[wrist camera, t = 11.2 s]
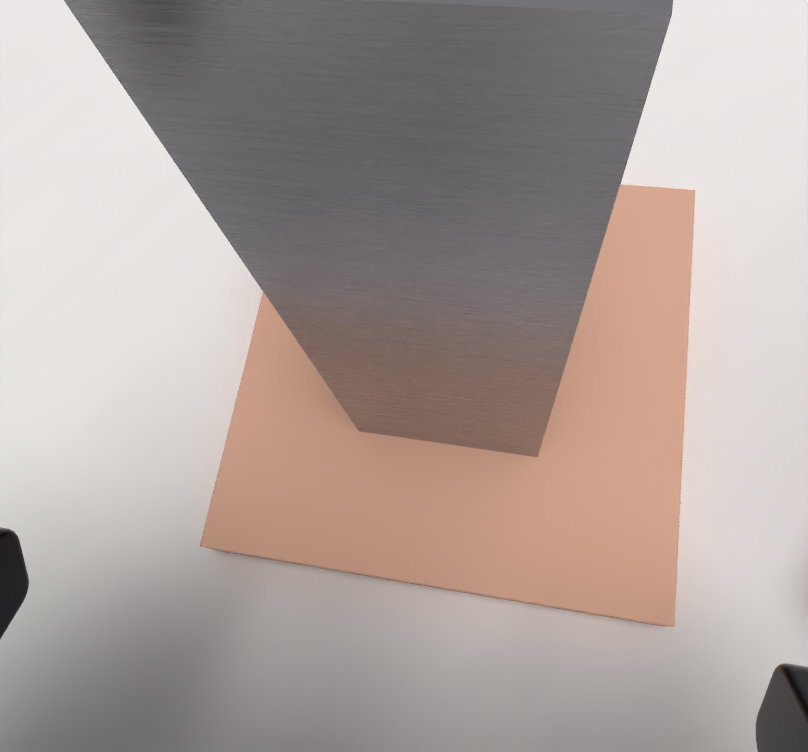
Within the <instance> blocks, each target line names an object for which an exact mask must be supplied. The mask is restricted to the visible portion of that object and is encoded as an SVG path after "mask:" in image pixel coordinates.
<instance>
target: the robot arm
mask: <svg viewBox="0 0 808 752" xmlns="http://www.w3.org/2000/svg"><path fill="white" fill-rule="evenodd" d="M28 586H29V579H28V574H27V570H26V566H25V562H24V558H23V554H22V550H21V545H20V541H19V538H18V536H17V535H16V534H15V532H14V531H12V530H10V529H6V528H0V639H1V637H2V636H3V634H4V632H5V631H6V629H7V627H8V626H9V624H10V622H11V621H12V619H13V617H14V616H15V614H16V613H17V611H18V609H19V608H20V606H21V604H22V603H23V601H24V599H25V597H26V594H27V591H28ZM756 741H757V749H758V752H808V667H804V666H798V665H793V664H780V665H779V666H778V667H777V668H776V669H775V671H774V672H773V675H772V678H771V680H770V683H769V686H768V688H767V691H766V694H765V696H764V699H763V702H762V704H761V707H760V710H759V712H758V716H757V721H756Z"/></svg>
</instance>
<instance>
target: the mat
mask: <svg viewBox="0 0 808 752" xmlns="http://www.w3.org/2000/svg"><path fill="white" fill-rule="evenodd" d="M694 203H695V190H683V189H670V188H657V187H644V186H631V185H620V187H619V190H618V194H617V197H616V200H615V203H614V207H613V210H612V213H611V217H610V220H609V223H608V227H607V230H606V233H605V237H604V240H603V243H602V246H601V250H600V253H599V256H598V260H597V263H596V266H595V270H594V273H593V276H592V279H591V283H590V286H589V289H588V293H587V296H586V299H585V303H584V306H583V309H582V312H581V316H580V319H579V322H578V326H577V329H576V332H575V336H574V339H573V342H572V346H571V349H570V352H569V355H568V359H567V362H566V365H565V369H564V372H563V375H562V379H561V382H560V385H559V388H558V392H557V395H556V398H555V402H554V405H553V408H552V412H551V415H550V418H549V421H548V425H547V428H546V431H545V435H544V438H543V441H542V445H541V448H540V451H539V454H538V457H533V456H526V455H519V454H512V453H505V452H499V451H492V450H485V449H478V448H471V447H464V446H457V445H450V444H443V443H437V442H430V441H423V440H416V439H409V438H402V437H395V436H388V435H381V434H375V433H368V432H361V431H358V429H357V428H356V426H355V425H354V424H353V422H352V421H351V419H350V418H349V416H348V415H347V413H346V412H345V410H344V409H343V407H342V406H341V405H340V403H339V402H338V400H337V399H336V397H335V396H334V394H333V393H332V391H331V390H330V388H329V387H328V386H327V384H326V383H325V381H324V380H323V378H322V377H321V375H320V374H319V372H318V371H317V369H316V368H315V367H314V365H313V364H312V362H311V361H310V359H309V358H308V356H307V355H306V353H305V352H304V350H303V349H302V348H301V346H300V345H299V343H298V342H297V340H296V339H295V337H294V336H293V334H292V333H291V331H290V330H289V328H288V327H287V326H286V324H285V323H284V321H283V320H282V318H281V317H280V315H279V314H278V312H277V311H276V309H275V308H274V307H273V305H272V304H271V302H270V301H269V299H268V298H267V296H266V295H265V293H264V292H263V295H262V299H261V303H260V307H259V311H258V315H257V319H256V323H255V327H254V331H253V335H252V339H251V343H250V347H249V351H248V355H247V359H246V363H245V367H244V371H243V375H242V379H241V383H240V387H239V391H238V395H237V399H236V403H235V407H234V411H233V415H232V419H231V423H230V427H229V431H228V435H227V439H226V443H225V447H224V451H223V455H222V460H221V464H220V468H219V472H218V476H217V480H216V484H215V488H214V492H213V496H212V500H211V504H210V508H209V512H208V516H207V520H206V524H205V528H204V532H203V536H202V540H201V544H200V546H203V547H206V548H210V549H214V550H219V551H225V552H231V553H237V554H242V555H248V556H254V557H260V558H266V559H272V560H278V561H283V562H289V563H295V564H301V565H307V566H313V567H319V568H325V569H330V570H336V571H342V572H348V573H354V574H360V575H366V576H371V577H377V578H383V579H389V580H395V581H401V582H407V583H413V584H418V585H424V586H430V587H436V588H442V589H448V590H454V591H459V592H465V593H471V594H477V595H483V596H489V597H495V598H501V599H506V600H512V601H518V602H524V603H530V604H536V605H542V606H547V607H553V608H559V609H565V610H571V611H577V612H583V613H589V614H594V615H600V616H606V617H612V618H618V619H624V620H630V621H635V622H641V623H647V624H653V625H659V626H674V617H675V597H676V576H677V555H678V534H679V514H680V493H681V472H682V452H683V431H684V410H685V389H686V369H687V348H688V327H689V307H690V286H691V265H692V244H693V224H694Z"/></svg>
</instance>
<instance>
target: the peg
mask: <svg viewBox="0 0 808 752" xmlns="http://www.w3.org/2000/svg"><path fill="white" fill-rule="evenodd" d="M64 1H65V3H66V4H67V5H68V7H69V8H70V10H71V11H72V13H73V14H74V16H75V17H76V19H77V20H78V22H79V23H80V24H81V26H82V27H83V29H84V30H85V32H86V33H87V35H88V36H89V38H90V39H91V41H92V42H93V43H94V45H95V46H96V48H97V49H98V51H99V52H100V54H101V55H102V57H103V58H104V60H105V61H106V62H107V64H108V65H109V67H110V68H111V70H112V71H113V73H114V74H115V76H116V77H117V79H118V80H119V81H120V83H121V84H122V86H123V87H124V89H125V90H126V92H127V93H128V95H129V96H130V98H131V99H132V100H133V102H134V103H135V105H136V106H137V108H138V109H139V111H140V112H141V114H142V115H143V117H144V118H145V119H146V121H147V122H148V124H149V125H150V127H151V128H152V130H153V131H154V133H155V134H156V136H157V137H158V138H159V140H160V141H161V143H162V144H163V146H164V147H165V149H166V150H167V152H168V153H169V155H170V156H171V157H172V159H173V160H174V162H175V163H176V165H177V166H178V168H179V169H180V171H181V172H182V174H183V175H184V176H185V178H186V179H187V181H188V182H189V184H190V185H191V187H192V188H193V190H194V191H195V193H196V194H197V195H198V197H199V198H200V200H201V201H202V203H203V204H204V206H205V207H206V209H207V210H208V212H209V213H210V214H211V216H212V217H213V219H214V220H215V222H216V223H217V225H218V226H219V228H220V229H221V231H222V232H223V233H224V235H225V236H226V238H227V239H228V241H229V242H230V244H231V245H232V247H233V248H234V250H235V251H236V252H237V254H238V255H239V257H240V258H241V260H242V261H243V263H244V264H245V266H246V267H247V269H248V270H249V271H250V273H251V274H252V276H253V277H254V279H255V280H256V282H257V283H258V285H259V286H260V288H261V289H262V290H263V292H264V293H265V295H266V296H267V298H268V299H269V301H270V302H271V304H272V305H273V307H274V308H275V309H276V311H277V312H278V314H279V315H280V317H281V318H282V320H283V321H284V323H285V324H286V326H287V327H288V328H289V330H290V331H291V333H292V334H293V336H294V337H295V339H296V340H297V342H298V343H299V345H300V346H301V348H302V349H303V350H304V352H305V353H306V355H307V356H308V358H309V359H310V361H311V362H312V364H313V365H314V367H315V368H316V369H317V371H318V372H319V374H320V375H321V377H322V378H323V380H324V381H325V383H326V384H327V386H328V387H329V388H330V390H331V391H332V393H333V394H334V396H335V397H336V399H337V400H338V402H339V403H340V405H341V406H342V407H343V409H344V410H345V412H346V413H347V415H348V416H349V418H350V419H351V421H352V422H353V424H354V425H355V426H356V428H357V429H358V431H361V432H368V433H375V434H381V435H388V436H395V437H402V438H409V439H416V440H423V441H430V442H437V443H443V444H450V445H457V446H464V447H471V448H478V449H485V450H492V451H499V452H505V453H512V454H519V455H526V456H533V457H538V454H539V451H540V448H541V445H542V441H543V438H544V435H545V431H546V428H547V425H548V421H549V418H550V415H551V412H552V408H553V405H554V402H555V398H556V395H557V392H558V388H559V385H560V382H561V379H562V375H563V372H564V369H565V365H566V362H567V359H568V355H569V352H570V349H571V346H572V342H573V339H574V336H575V332H576V329H577V326H578V322H579V319H580V316H581V312H582V309H583V306H584V303H585V299H586V296H587V293H588V289H589V286H590V283H591V279H592V276H593V273H594V270H595V266H596V263H597V260H598V256H599V253H600V250H601V246H602V243H603V240H604V237H605V233H606V230H607V227H608V223H609V220H610V217H611V213H612V210H613V207H614V203H615V200H616V197H617V194H618V190H619V187H620V184H621V180H622V177H623V174H624V170H625V167H626V164H627V161H628V157H629V154H630V151H631V147H632V144H633V141H634V137H635V134H636V131H637V128H638V124H639V121H640V118H641V114H642V111H643V108H644V104H645V101H646V98H647V95H648V91H649V88H650V85H651V81H652V78H653V75H654V71H655V68H656V65H657V61H658V58H659V55H660V52H661V48H662V45H663V42H664V38H665V35H666V32H667V28H668V25H669V22H670V19H671V15H672V5H673V0H64Z"/></svg>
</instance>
